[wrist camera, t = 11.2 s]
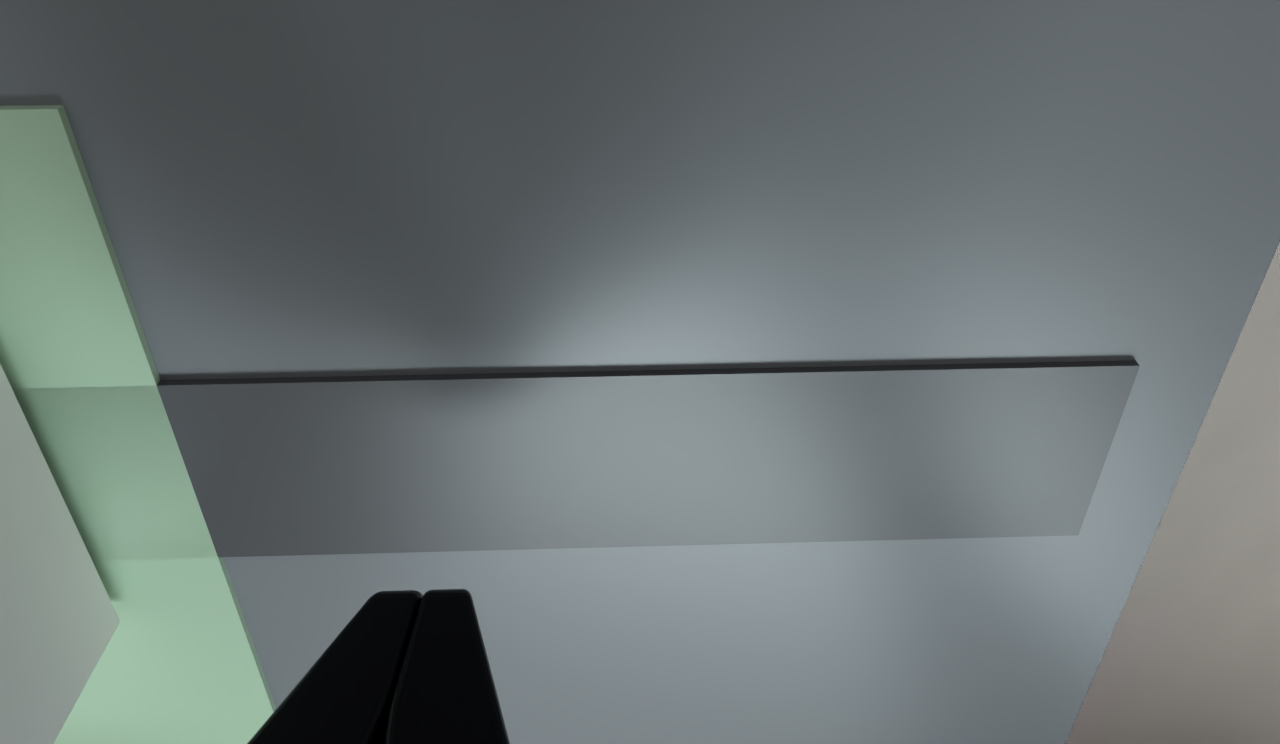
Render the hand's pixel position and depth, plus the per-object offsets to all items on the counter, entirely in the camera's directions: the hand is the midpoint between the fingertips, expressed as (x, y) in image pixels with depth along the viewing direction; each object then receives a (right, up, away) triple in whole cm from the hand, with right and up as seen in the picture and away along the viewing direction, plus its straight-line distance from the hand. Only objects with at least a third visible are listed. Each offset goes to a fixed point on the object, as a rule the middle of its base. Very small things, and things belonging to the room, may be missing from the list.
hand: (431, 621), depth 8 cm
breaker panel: (0, -2, +7) cm, 7 cm away
